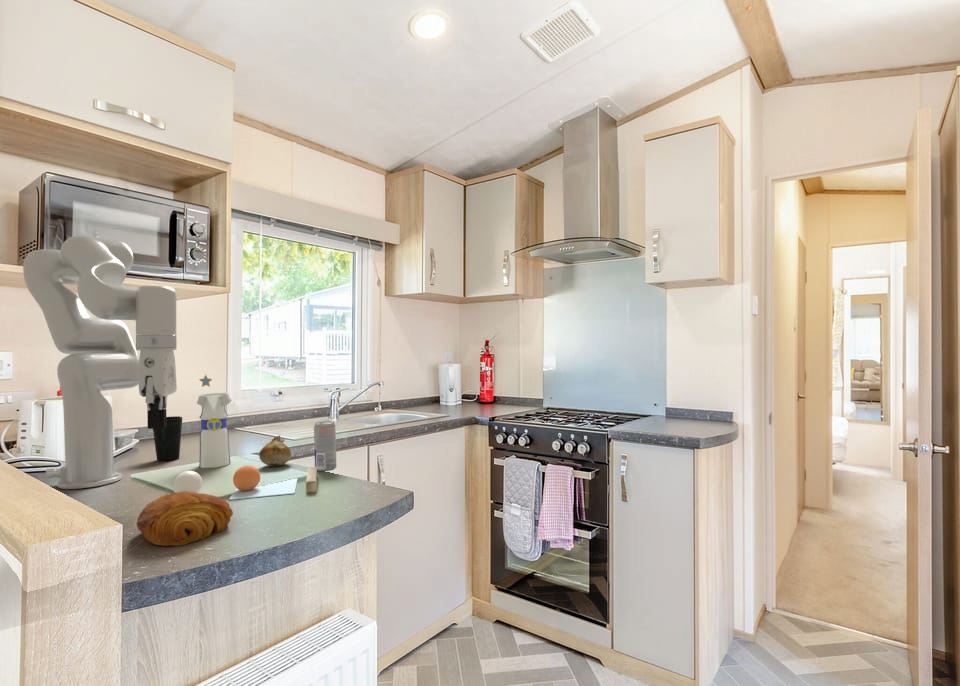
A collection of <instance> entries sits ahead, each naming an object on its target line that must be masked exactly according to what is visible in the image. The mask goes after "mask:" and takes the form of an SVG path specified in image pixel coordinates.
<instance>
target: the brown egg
mask: <svg viewBox="0 0 960 686" xmlns="http://www.w3.org/2000/svg"><path fill="white" fill-rule="evenodd" d="M232 482H233V486H235V489H236V488H237V489H239V490H241V491H250V490H252V489H254V488H255V487H256V486H257V485H258V484H259V482H261V472H260V471H259V470H258V468H257V467H255V466H253V465H243V466H241V467H239V468H237V470H236V471H235V472H234V474H233V477H232Z"/></svg>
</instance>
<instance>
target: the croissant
mask: <svg viewBox="0 0 960 686" xmlns="http://www.w3.org/2000/svg"><path fill="white" fill-rule="evenodd" d="M233 515H234V511H233V509H232V507H231V506H230V503H229V502H228V501H227V500H226V499H223V498H221V497H218V496H216V495H212V494H207V493H199V492H198V493H194V492H187V491H183V492H178V493H175V492H173V493H170V494H167V493H166V494H164V495H162V496H159V497H157V499H154V500H153V501H151V502H149V503H147V505H146V506H145V507H144V508H143V509H142V510H141V512H140V513H139V516H138V518H137V521H136V528H137V530H138V531H139V532H140V534H142V536H143V537H144V538H145V539H146V541H147V542H149V543H152V544H153V545H156V546H160V545H161V546H164V547H169V546H175V547H176V546H177V547H178V546H184V545H188V544H190V543H195V542H196V541H199V540H203V539H205V538H208V537H210V536H211V535H215V534H219V533H222V532H223V531H225V530H226V528H227V526H228V525H229V523H230V522H231V517H232V516H233Z"/></svg>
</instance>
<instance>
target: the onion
mask: <svg viewBox="0 0 960 686" xmlns="http://www.w3.org/2000/svg"><path fill="white" fill-rule="evenodd" d="M285 440H286V439H285V438H283V437H281V435H277V436H274V437H273V438H272V439H271V440H270V441H268V442H267V444H265V445H264V446H263V447H262V448H261V450H260V451H259V455H258V457H259V460H260V461H261V463H263V464H264V465H266V466H268V467H272V468H274V467H276V468H277V467H280V466H284V465H285V464H286V463H288V462H289V461H290V460H291V456H292V452H291V449H290V447H289V446H288V445H286V444H285V443H284V442H285Z"/></svg>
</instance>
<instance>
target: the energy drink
mask: <svg viewBox="0 0 960 686" xmlns="http://www.w3.org/2000/svg"><path fill="white" fill-rule="evenodd" d="M336 430H337V429H336V424H335V421H331V420H330V421H329V420H328V421H318V422H315V423H314V426H313V438H314V439H313V441H314V442H313V447H314V450H313V451H314V467H317V472H330V471H334V470H335V469H337V435H336V434H337V433H336V432H337V431H336Z"/></svg>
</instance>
